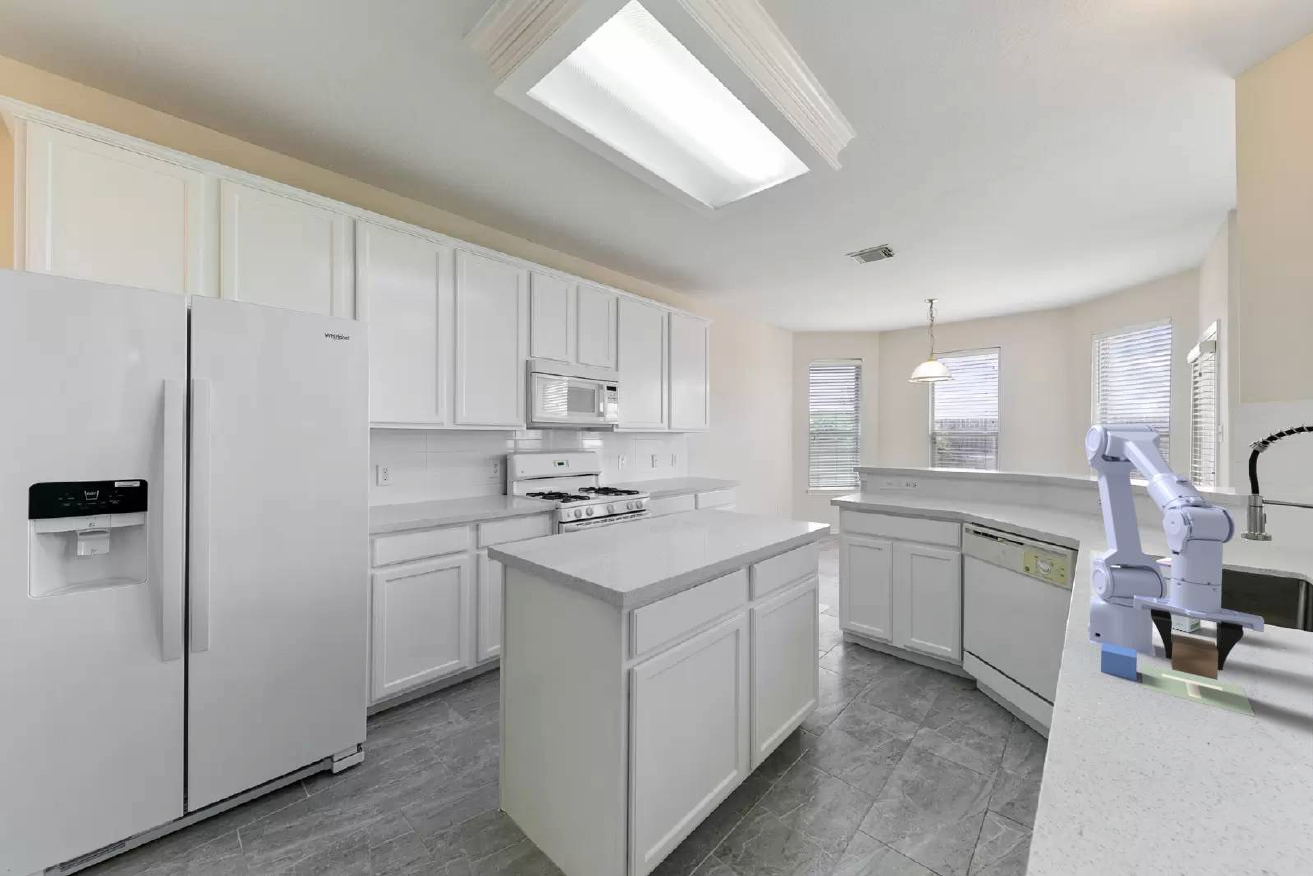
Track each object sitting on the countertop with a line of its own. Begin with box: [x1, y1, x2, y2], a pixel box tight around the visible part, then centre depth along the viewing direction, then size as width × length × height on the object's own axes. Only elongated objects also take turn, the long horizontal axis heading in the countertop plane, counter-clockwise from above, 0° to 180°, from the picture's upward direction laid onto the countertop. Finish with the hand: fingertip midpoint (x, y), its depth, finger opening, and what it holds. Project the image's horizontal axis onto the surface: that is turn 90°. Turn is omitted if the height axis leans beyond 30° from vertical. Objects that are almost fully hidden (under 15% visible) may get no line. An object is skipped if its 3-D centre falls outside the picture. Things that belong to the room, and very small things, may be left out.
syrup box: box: [1155, 556, 1201, 633], centre depth 111 cm, size 6×6×14 cm
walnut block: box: [1169, 632, 1219, 681], centre depth 84 cm, size 5×5×4 cm
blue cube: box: [1100, 642, 1138, 681], centre depth 89 cm, size 4×4×4 cm
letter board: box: [1141, 663, 1256, 718], centre depth 84 cm, size 12×12×1 cm
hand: (1192, 662), depth 84 cm, fingers closed on walnut block, 5 cm apart
